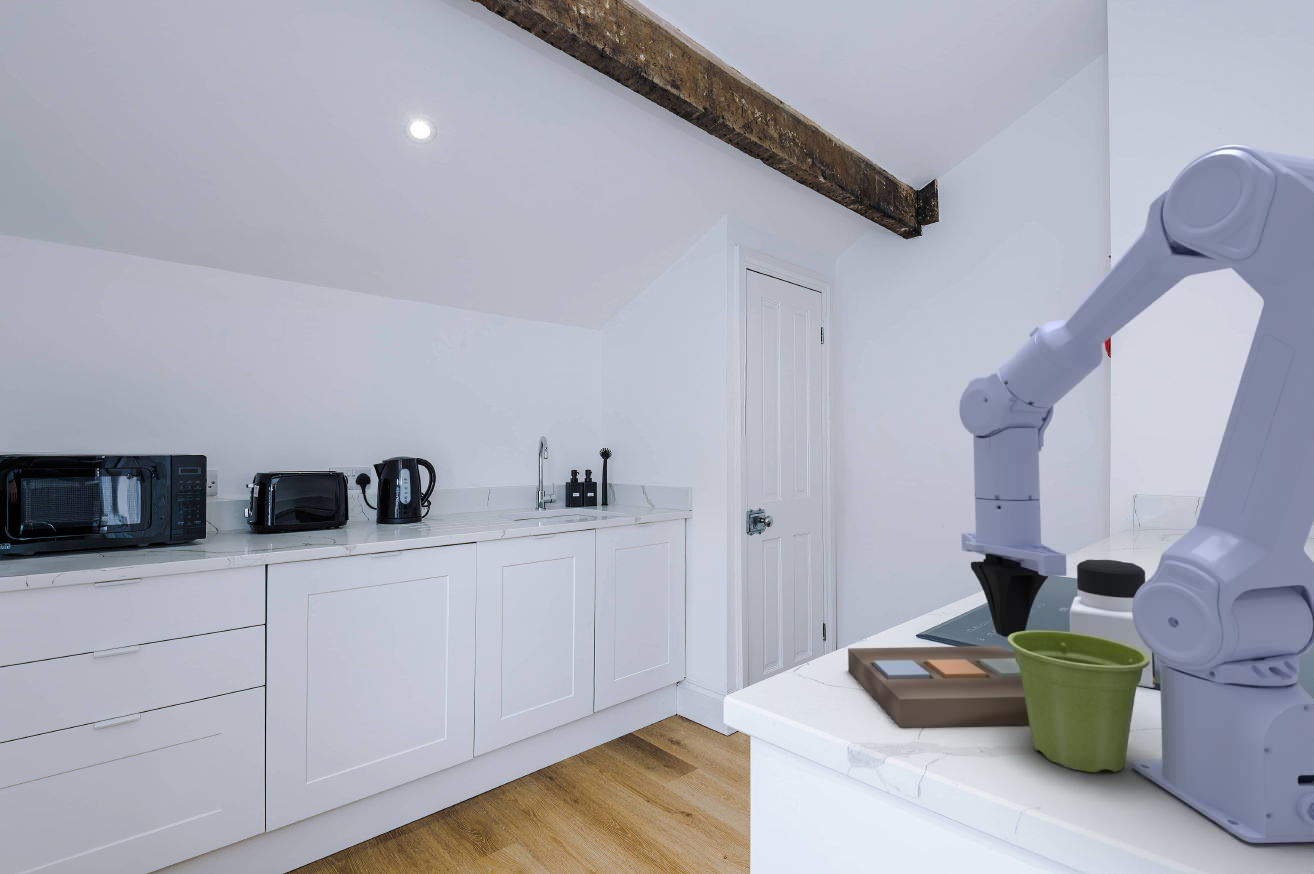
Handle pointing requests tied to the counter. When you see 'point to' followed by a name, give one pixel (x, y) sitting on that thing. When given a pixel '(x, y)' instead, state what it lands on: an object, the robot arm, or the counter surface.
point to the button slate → (901, 669)
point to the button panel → (942, 688)
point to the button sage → (1002, 667)
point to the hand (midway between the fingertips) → (1009, 634)
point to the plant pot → (1079, 695)
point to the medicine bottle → (1110, 605)
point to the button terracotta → (956, 669)
